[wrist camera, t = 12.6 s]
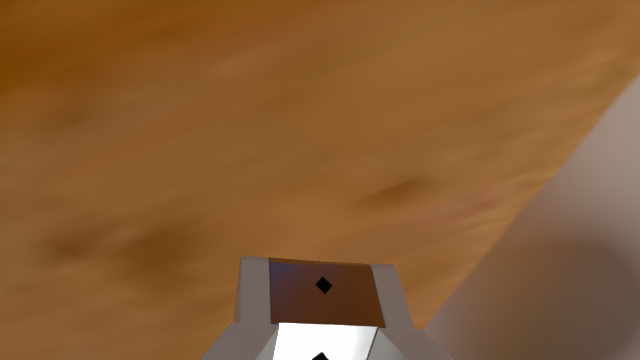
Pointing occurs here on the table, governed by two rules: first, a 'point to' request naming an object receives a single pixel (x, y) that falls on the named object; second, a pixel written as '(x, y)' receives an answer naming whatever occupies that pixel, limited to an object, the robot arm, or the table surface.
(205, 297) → the table surface
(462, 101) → the table surface
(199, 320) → the table surface
